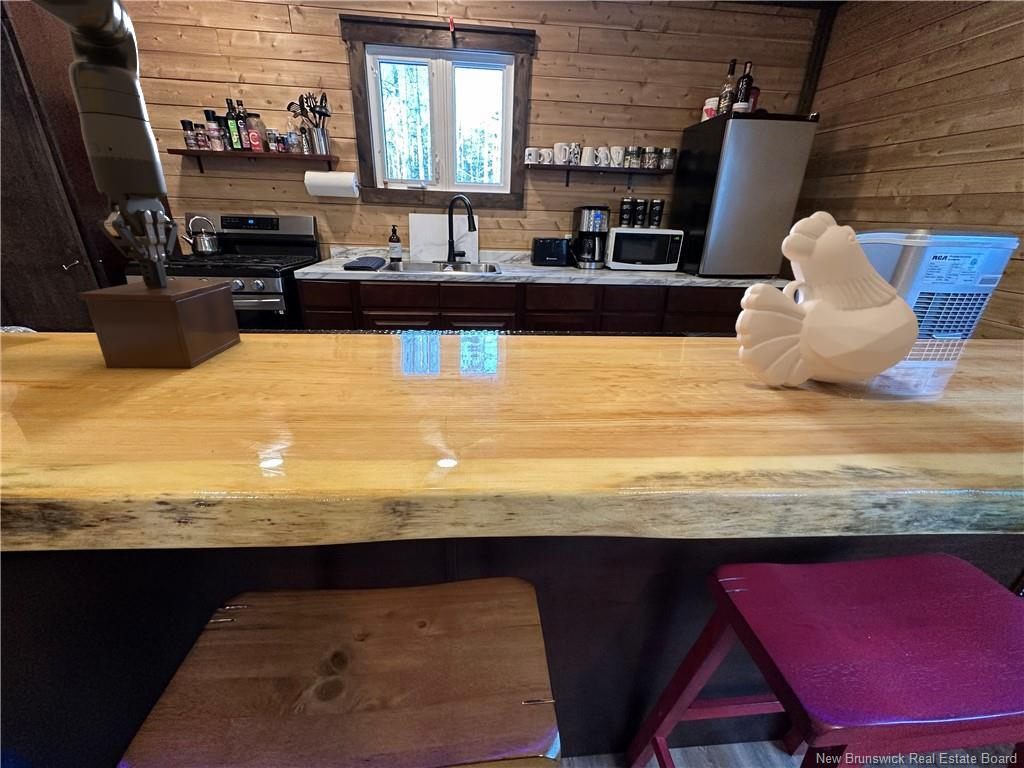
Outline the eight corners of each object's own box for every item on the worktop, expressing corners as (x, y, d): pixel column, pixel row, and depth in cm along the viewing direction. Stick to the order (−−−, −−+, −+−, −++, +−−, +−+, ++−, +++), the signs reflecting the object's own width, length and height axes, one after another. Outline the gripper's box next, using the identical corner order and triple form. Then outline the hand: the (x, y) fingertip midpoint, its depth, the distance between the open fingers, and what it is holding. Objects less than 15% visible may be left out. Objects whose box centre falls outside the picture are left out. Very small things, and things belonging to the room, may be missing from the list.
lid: (171, 301, 60) (170, 295, 59) (79, 299, 58) (78, 293, 58) (230, 285, 74) (229, 280, 74) (157, 283, 73) (156, 278, 73)
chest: (191, 368, 64) (175, 301, 60) (106, 367, 63) (85, 299, 59) (241, 341, 77) (230, 285, 74) (171, 340, 76) (157, 284, 73)
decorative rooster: (872, 330, 75) (802, 206, 71) (965, 336, 59) (882, 178, 56) (745, 411, 78) (672, 296, 74) (803, 438, 62) (714, 293, 59)
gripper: (117, 152, 53) (154, 295, 59) (184, 164, 65) (209, 281, 71) (50, 148, 52) (94, 294, 58) (131, 161, 64) (160, 280, 71)
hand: (157, 287), depth 65 cm, fingers closed
